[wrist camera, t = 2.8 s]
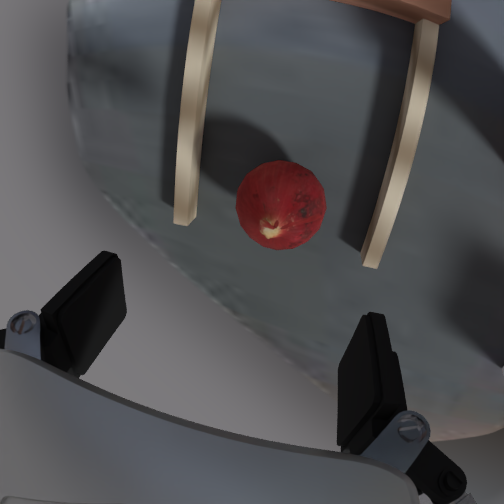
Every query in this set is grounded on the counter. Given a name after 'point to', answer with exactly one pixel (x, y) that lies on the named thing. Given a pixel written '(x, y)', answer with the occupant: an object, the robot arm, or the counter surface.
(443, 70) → the counter surface
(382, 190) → the wooden u-shaped frame
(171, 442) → the robot arm
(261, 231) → the red apple
